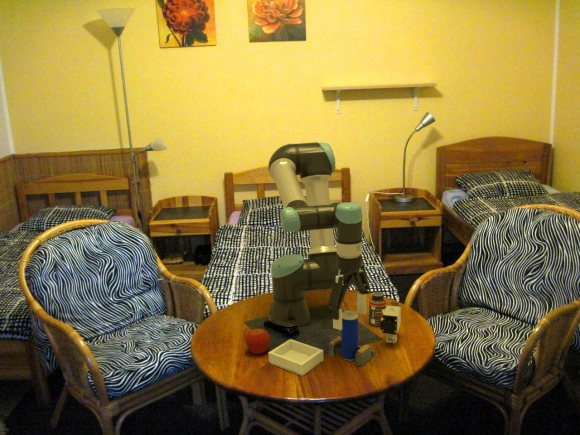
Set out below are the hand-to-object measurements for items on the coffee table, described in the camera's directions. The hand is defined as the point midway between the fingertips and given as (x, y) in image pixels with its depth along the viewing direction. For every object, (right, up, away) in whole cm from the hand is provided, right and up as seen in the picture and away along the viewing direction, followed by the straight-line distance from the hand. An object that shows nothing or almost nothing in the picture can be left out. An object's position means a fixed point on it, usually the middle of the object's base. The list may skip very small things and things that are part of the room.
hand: (349, 320), depth 168 cm
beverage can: (0, -12, +4) cm, 13 cm away
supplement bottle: (+13, -6, +26) cm, 30 cm away
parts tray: (-17, -13, +2) cm, 21 cm away
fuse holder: (0, -12, +4) cm, 13 cm away
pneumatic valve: (+15, -9, +13) cm, 22 cm away
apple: (-29, -12, +9) cm, 32 cm away
